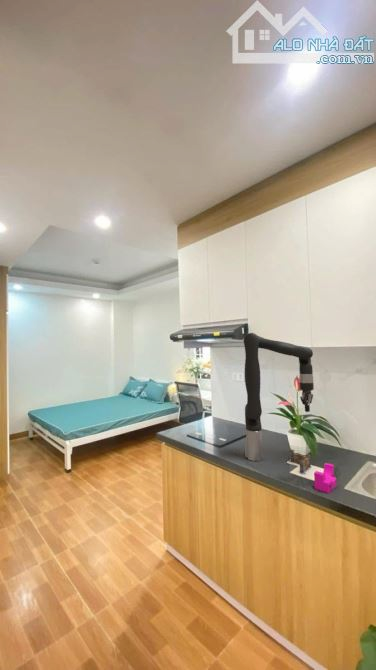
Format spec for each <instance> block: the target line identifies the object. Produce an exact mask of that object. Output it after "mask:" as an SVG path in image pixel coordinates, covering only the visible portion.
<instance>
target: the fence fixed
mask: <svg viewBox="0 0 376 670" xmlns="http://www.w3.org/2000/svg"><path fill="white" fill-rule="evenodd" d="M305 458H309V467H311V465H312V464H311V454H310V453H307V454H306V455H303V454H300V453H296V452H295V450H294V449H290V460H291V462H294V463H298V464H300V460H304V459H305Z"/></svg>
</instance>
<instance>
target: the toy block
mask: <svg viewBox="0 0 376 670" xmlns="http://www.w3.org/2000/svg"><path fill="white" fill-rule="evenodd" d="M323 469H324V471H323V473H322V472H318V471H316V472H314V481H313V482H314V489H316V490H318V491H321V492H324V493H326V494H330V493H331V492H332V491H333V489H334V488H336V487H337V484H338V483H337V477H335V465H334V464H332V463H328V462H325V463H324V467H323Z"/></svg>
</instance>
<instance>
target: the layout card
mask: <svg viewBox="0 0 376 670" xmlns="http://www.w3.org/2000/svg"><path fill="white" fill-rule="evenodd" d="M286 464H289V465H291V466H295V468H294V469H292V470H291V471H289V474H291V475H293V476H297V477H300V478H303V479H307V480H309V481H312V482H315V481H314V472H316V471H318V472H322V473H323V471H324V467H323V468H322V467H319V466H316V465H312V464H311V467H309V468H308V469H307V470H305V471H304V473H301V472H300V464H298V463H294V462H291V459H289V460H287V462H286Z"/></svg>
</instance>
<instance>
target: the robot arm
mask: <svg viewBox="0 0 376 670" xmlns="http://www.w3.org/2000/svg"><path fill="white" fill-rule="evenodd" d="M243 345H244V353H245V358H244V359H245V360H244V384H245V391H246V398H247V400H246V401H247V402H246V405H245V406H244V418H245V420H244V421H245V422H244V424H245V435H246V436H245V441H244V452H245V454H244V456H245V458H246V457H247V458H248V459H247V458H246V459H247V460H248V461H251V460H252V462H259V461H262V460H263V435H262V433H263V432H262V428H263V427H262V420H261V416H262V415H263V414H262V413H263V411H262V403H261V367H260V359H259V349H264V350H268V351H272V352H274V353H277V354H282V355H285V356H290V357H295V358H298V363H299V375H298V376H299V377H298V384H299V390H300V391H301V392H302V393H301V396H299V398H300V402H301V403H302V405H304V412H305V413H309V412H311V411H310V410H311V408H310V407H311V404H312V402H313V397H314V393H312V391H314V389H315V387H314V386H315V385H314V376H313V375H314V374H313V365H312V358H313V355H314V353H313V349H311V348H310V347H308V346H301V345H297V344H296V345H295V344H292V343H290V342H284V341H279V340H273V339H270V338H269V339H268V338H265V337H261V336H259V335H257V334H256V333H253V332H249V333H247V334H246V335H245V336H243Z"/></svg>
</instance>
